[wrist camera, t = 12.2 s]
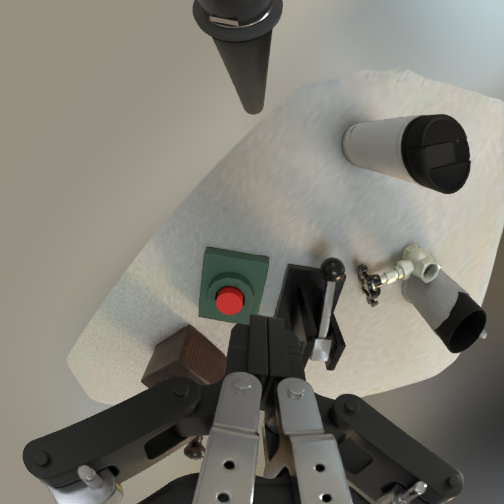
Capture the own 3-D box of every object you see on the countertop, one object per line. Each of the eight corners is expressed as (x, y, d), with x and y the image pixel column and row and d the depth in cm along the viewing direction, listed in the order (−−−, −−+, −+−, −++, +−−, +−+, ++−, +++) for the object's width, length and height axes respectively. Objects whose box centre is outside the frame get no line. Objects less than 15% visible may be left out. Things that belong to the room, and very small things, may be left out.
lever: (318, 256, 35) (326, 254, 32) (340, 260, 35) (350, 258, 32) (302, 354, 34) (308, 360, 30) (324, 356, 34) (332, 362, 31)
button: (219, 284, 38) (217, 290, 36) (244, 288, 38) (244, 295, 36) (216, 305, 39) (214, 312, 37) (241, 309, 39) (240, 316, 37)
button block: (207, 246, 39) (201, 257, 36) (268, 257, 40) (269, 269, 36) (200, 309, 43) (196, 323, 40) (255, 318, 44) (254, 333, 40)
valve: (418, 231, 37) (353, 258, 39) (439, 247, 31) (367, 278, 33) (422, 266, 40) (361, 293, 42) (442, 284, 34) (375, 315, 36)
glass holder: (420, 251, 39) (472, 297, 25) (462, 279, 40) (507, 321, 27) (393, 295, 42) (433, 351, 28) (439, 315, 44) (476, 363, 30)
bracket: (288, 263, 40) (299, 314, 28) (344, 272, 40) (372, 322, 29) (271, 327, 45) (274, 385, 33) (322, 333, 45) (337, 389, 33)
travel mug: (333, 128, 32) (409, 117, 14) (376, 120, 32) (471, 111, 13) (345, 172, 35) (425, 205, 16) (386, 162, 34) (482, 188, 15)
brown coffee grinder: (151, 347, 47) (119, 421, 31) (190, 322, 45) (161, 406, 28) (207, 392, 52) (194, 464, 35) (247, 373, 49) (243, 453, 32)
